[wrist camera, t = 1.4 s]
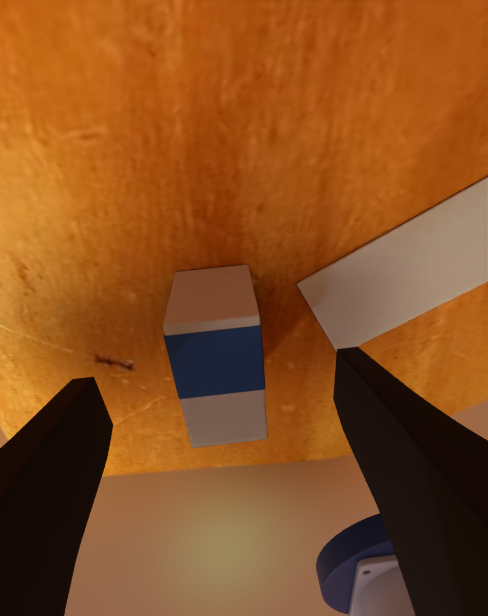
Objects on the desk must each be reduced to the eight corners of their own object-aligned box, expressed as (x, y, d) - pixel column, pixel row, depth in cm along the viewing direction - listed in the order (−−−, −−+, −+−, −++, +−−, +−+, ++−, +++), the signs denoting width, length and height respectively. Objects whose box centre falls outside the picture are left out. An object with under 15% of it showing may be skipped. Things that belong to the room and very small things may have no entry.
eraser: (257, 371, 15) (269, 440, 12) (195, 378, 15) (190, 450, 12) (248, 263, 12) (260, 315, 9) (173, 271, 12) (160, 326, 9)
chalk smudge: (338, 354, 15) (338, 355, 14) (296, 283, 13) (296, 284, 13) (529, 258, 13) (532, 259, 13) (514, 161, 11) (517, 161, 11)
